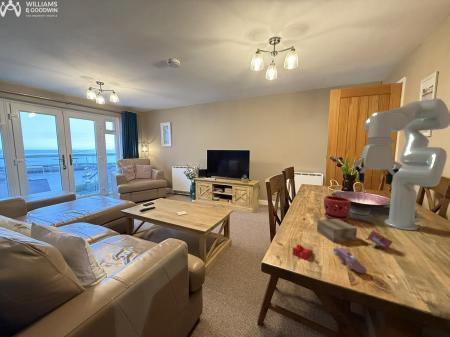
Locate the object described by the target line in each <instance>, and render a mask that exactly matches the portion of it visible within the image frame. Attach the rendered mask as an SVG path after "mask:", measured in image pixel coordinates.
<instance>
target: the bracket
mask: <svg viewBox="0 0 450 337" xmlns="http://www.w3.org/2000/svg"><path fill="white" fill-rule="evenodd" d="M312 254H313V250H312V249H310V248H309V249H308V248H305V247H303V246H302V245H301V244H298V243H297V244H296V247H295V246H294V247H292V255H293V256H294V257H297V258H300V259H302V260H305V261H306V260H307V259H308V258H309V257H310V256H311V255H312Z"/></svg>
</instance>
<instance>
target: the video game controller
mask: <svg viewBox="0 0 450 337" xmlns="http://www.w3.org/2000/svg"><path fill="white" fill-rule="evenodd" d="M332 250H333V254H334V256H337V258H338V259H339V260H340V261H341V263H342V264H345V265H346V268H348V269H349V270H354V271H356V272H358V273H360V274H366V273H367V268H366V266H364V265H363V264H361V262H360V261H359V260H358V259H357V258H356V257H355V256H354V255H353V254H352V253H351V252H350V251H349V250H348V249H346V248H343V247H342V246H336V247H334V248H332Z"/></svg>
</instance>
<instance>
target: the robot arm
mask: <svg viewBox="0 0 450 337" xmlns="http://www.w3.org/2000/svg"><path fill="white" fill-rule="evenodd" d="M449 126H450V110H449V108H448V106H447V104H446V102H444V100H443V99H441V98H429V99H423V100H417V101H412V102H409V103H406V104H405V105H402V106H400V107H395V108H394V109H389V110H386V111H377V112H373V113H372V114H370V116H369V117H368V118H367V119H366V120H365V124H364V128H365V130H366V132H368V133H367V134H368V135H367V142H366V145H364V147H363V150H362V152H361V153H362V154H361V158H360V159H358V160H355V161H353V162H352V166H353V168H354V170H355V171H356V172H357V173H358V177H357V179H358V182H359V183H361V184H362V183H364V182H365V171H367V170H378V171H385V172H386V174H385V179H384V183H385V184H386V185H389V186H391V192H390V194H391V195H390V202H389V203H390V204H389V212H388V213H389V216H388V218H386V219H384V223H385V224H386V225H388V226H390V227H393V228H396V229H400V230H405V231H417V230H418V229H419V226H418V225H417V224H416V223H421V221H422V219H421V218H419V217H418V218H415V214H416V207H417V197H418V196H417V195H418V194H417V191H416V189H415V188H414V187H413V186H418V187H419V186H420V187H430V188H432V187H437V185H439V184H440V182H441V178H442V176H443V172H444V169H445V166H446V162H447V156H448V154H447V151H446V150H445V149H444V148H443V147H439V146H429V142H430V141H429V139H428V137H427V136H426V135H424V134H423V133H422V132H421V131H437V130H444V129H447V128H448V127H449ZM400 131H403V133H404V138H405V143H404V146H403V149H402V151H401V155H400V162H401V163H400V162H397V161H396V160H394V150H393V146H392V144H395V143H396V142H395V141H396V140H395V139H393V138H392V133H394V132H395V133H396V132H400ZM359 166H360V167H359Z"/></svg>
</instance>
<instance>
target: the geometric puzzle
mask: <svg viewBox="0 0 450 337" xmlns="http://www.w3.org/2000/svg"><path fill="white" fill-rule="evenodd" d="M386 234H387V233H386V232H383V233H382V234H381V232H380V233H379V232H377V231H375V230H372V231H370V232H369V233H368V235H367V240H369V242H372V243H373V244H372V247H373V249H378V248H379V249H380V248H382V250H385V251H387V250H388V248H390V246H391V245H392V243H393V240H391V239H389V238H388V237H386V236H384V235H386ZM376 246H377V247H376Z"/></svg>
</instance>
